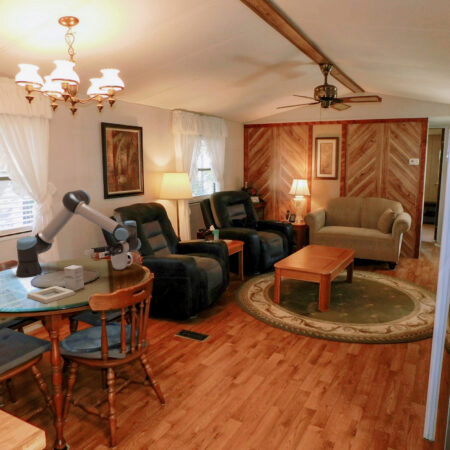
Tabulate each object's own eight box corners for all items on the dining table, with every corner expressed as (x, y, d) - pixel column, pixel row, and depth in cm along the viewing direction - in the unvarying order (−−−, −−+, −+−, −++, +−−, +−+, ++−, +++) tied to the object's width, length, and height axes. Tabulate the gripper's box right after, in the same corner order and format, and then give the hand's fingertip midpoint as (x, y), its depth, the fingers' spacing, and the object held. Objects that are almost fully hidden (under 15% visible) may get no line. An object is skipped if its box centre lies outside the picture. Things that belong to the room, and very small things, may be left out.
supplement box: (65, 289, 238) (63, 267, 236) (74, 285, 245) (73, 264, 243) (75, 291, 235) (73, 269, 233) (84, 287, 242) (83, 265, 240)
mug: (136, 266, 286) (135, 248, 283) (129, 271, 275) (128, 251, 273) (115, 266, 288) (114, 247, 286) (108, 270, 278) (107, 250, 276)
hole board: (27, 297, 225) (27, 293, 224) (56, 289, 239) (55, 285, 238) (45, 303, 215) (45, 299, 215) (74, 294, 229) (74, 291, 229)
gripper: (134, 255, 258) (106, 263, 241) (107, 251, 272) (79, 258, 255) (133, 243, 257) (105, 250, 240) (106, 240, 271) (78, 246, 254)
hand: (91, 254), depth 247 cm, fingers open, 13 cm apart
